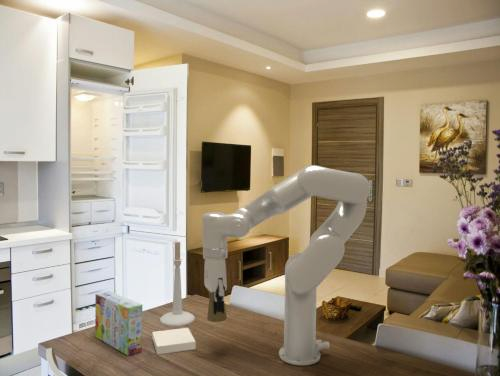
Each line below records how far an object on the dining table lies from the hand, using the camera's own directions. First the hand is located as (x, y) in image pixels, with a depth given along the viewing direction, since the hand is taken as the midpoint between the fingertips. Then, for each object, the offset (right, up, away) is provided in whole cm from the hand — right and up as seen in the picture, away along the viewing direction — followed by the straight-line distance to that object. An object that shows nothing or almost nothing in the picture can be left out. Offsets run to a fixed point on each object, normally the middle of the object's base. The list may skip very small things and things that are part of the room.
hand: (216, 310), depth 131 cm
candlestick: (-17, -12, +28) cm, 35 cm away
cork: (0, -3, 0) cm, 3 cm away
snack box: (-33, -13, +6) cm, 36 cm away
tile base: (-15, -13, +6) cm, 20 cm away
